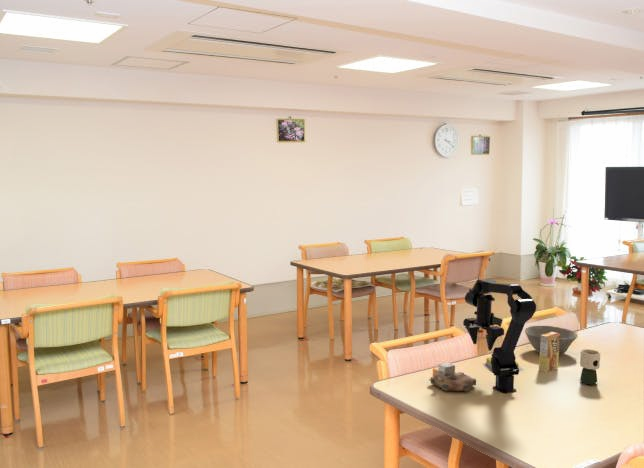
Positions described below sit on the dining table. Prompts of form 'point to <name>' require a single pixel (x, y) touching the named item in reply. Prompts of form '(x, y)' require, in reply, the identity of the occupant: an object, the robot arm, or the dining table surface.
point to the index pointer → (435, 371)
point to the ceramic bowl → (537, 331)
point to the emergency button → (489, 367)
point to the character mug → (589, 365)
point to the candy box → (549, 351)
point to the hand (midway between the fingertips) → (482, 347)
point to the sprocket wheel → (453, 381)
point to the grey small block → (447, 369)
